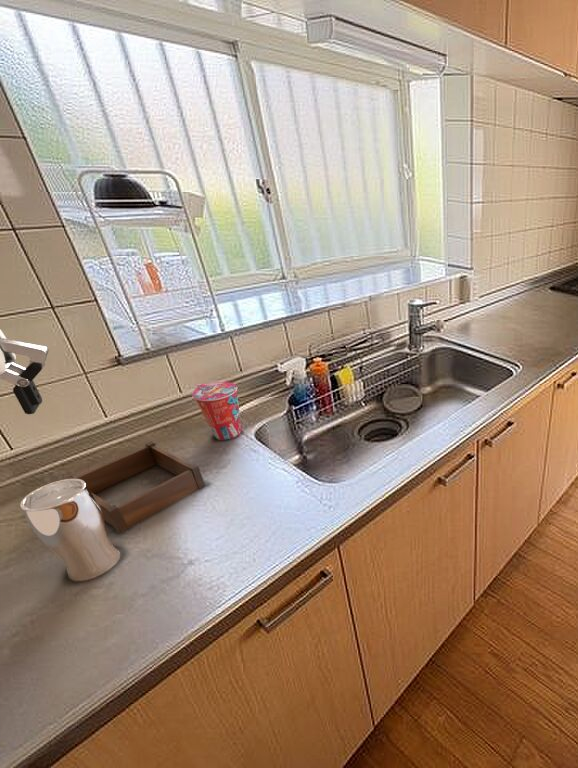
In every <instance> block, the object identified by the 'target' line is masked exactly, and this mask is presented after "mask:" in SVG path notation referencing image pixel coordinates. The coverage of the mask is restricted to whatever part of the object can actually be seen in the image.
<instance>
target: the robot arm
mask: <svg viewBox="0 0 578 768" xmlns="http://www.w3.org/2000/svg"><path fill="white" fill-rule="evenodd" d="M16 355H21V356H26V357H28V358H29V363H28V365H27V366H26V367H24V366H21V365H20V364H18V363H15V362H16V360H17V356H16ZM48 355H49V348H48V347H47V346H45V345H39V344H33V343H29V342H25V341H24V342H23V341H18V340H14V339H9V338H7V337H6V335H5V334H4V332H3V331H2V329H1V328H0V379H1V380H3V381H6V382H8V383H11V384H13V385H14V387H13V388H12V392H13V395H15V398H16V399H17V401H18V403H19V405H20V406H21V408H22V410H23V412H24V414H25V415H32V414H33V415H34V414H35V413H36V412H37V410H38V408H39V407H40V405H41V404H42V403H43V397H42V395H41V394H40V391H39V389H38V387H37V386H36V384H35V382H34V379H35V378H36V377H37V376H38V375H39V373H40V372H41V371H42V370H43V368H44V367H45V365H46V361H47V357H48Z"/></svg>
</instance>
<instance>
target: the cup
mask: <svg viewBox="0 0 578 768" xmlns="http://www.w3.org/2000/svg"><path fill="white" fill-rule="evenodd" d="M191 397H192V398H193V399H194V400H195V401H196V403H197V405H198V407H199V409H200V412H201V413H202V415H203V416H204V419H205V421H206V422H207V424H208V426H209V428H210V430H211V432H212V434H213V435H214V438H215V439H217V440H221V441H224V440H230V439H233V438H235V437H237V436H239V435H240V434H241V433H242V424H241V413H240V411H241V410H240V405H239V404H240V403H239V397H238V385H237V384H236V383H235V382H229V381H220V382H218V381H217V382H207V383H202V384H199V385H197V387H196V388H195V389H194V390H193V392H192V394H191Z"/></svg>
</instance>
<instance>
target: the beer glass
mask: <svg viewBox="0 0 578 768" xmlns="http://www.w3.org/2000/svg"><path fill="white" fill-rule="evenodd" d="M64 479H65V478H64ZM20 508H21V509H22V511H23V514H24V516H25V518H26V520H27V522H28V525H29V526H30V528H31V529H32V531H33V532H34V534H35V536H36V537H37V538H38V539H39V540H40V541H41V542H42V543H43V544H44V545H45V546H46V547H47V548H48V549H50V550H51V551H52V552H53V553H54V554H55V555H57V556H58V557H59V558H60V559H61V560H62V561H63V563H64V565H65V568H66V571H67V576H68V578H69V579H70V580H71V581H74V582H84V581H88V580H92V579H94V578H97V577H99V576H101V575H103V574H104V573H106V572H108V571H109V570H111V569H112V568H113V567H115V565H116V564H117V563H118V562H119V560H120V557H121V552H120V551H119V550H118V549H117V548H116V547H115V545H113V544H112V542H111V541H110V538H109V535H108V532H107V527H106V521H105V520H104V517H103V513H102V510H101V508H100V506H99V503H98V502H97V500H96V498H95V497H94V495H93V494H92V492H91V491H90V489H89V488H88V487H87V485H86V483H85V482H84V481H83V480H80V479H65V480H63V479H61V480H57V481H53V482H50V483H47V484H45V485H43V486H40V487H38V488H36V489H34V490H32V491H31V492H30V493H27V494H26V495H25V496H24V498H22V500H21V501H20Z"/></svg>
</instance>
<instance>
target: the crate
mask: <svg viewBox="0 0 578 768" xmlns="http://www.w3.org/2000/svg"><path fill="white" fill-rule="evenodd" d="M144 445H145V446H142V447H141V448H138V449H136V450H133V451H130V452H129V453H126V454H124V455H122V456H119V457H117V458H114V459H112V460H110V461H108V462H106V463H103V464H101V465H99V466H97V467H94V468H92V469H90V470H88V471H85V472H83V473H81V474H78V475H76V476H74V477H73V475H69V476H68V477H65V478H63V479H62V480H65V479H80V480H83V481H84V482H85V483H86V485H87V487H88V488H89V489H90V491H91V492H92V494H93V495H94V497H95V498H96V500H97V502H98V503H99V506H100V508H101V510H102V513H103V517H104V521H105V523H106V522H107V523H108V524H109V525H111V526H112V527H114V529H115V530H116V531H117V532H118V533H119V534H122V533H123V532H125V531H126V530H128V529H129V528H130V527H132V526H134V525H136V524H138V523H140V522H141V521H143V520H145V519H147V518H148V517H150V516H152V515H154V514H155V513H157V512H159V511H162V510H163V509H165V508H166V507H168V506H170V505H172V504H173V503H176V502H178V501H179V500H181V499H183V498H184V497H187V496H188V495H190V494H191V493H193V492H195V491H197V490H200V489H202V488H204V487H206V483H205V481H204V479H203V475H202V472H201V470H200V469H201V468H200V467H199V465H197V464H196V463H195V464H191V463H190V462H187V461H185V460H183V459H182V458H180V457H178V456H176V455H174V454H172V453H171V452H169V451H168V450H167V451H166V450H165V449H163V448H161V447H160V446H158V445H156V442H154V441H152V440H151V441H148V442H145V444H144ZM155 465H157V466H159V467H161V468H163V469H165V470H166V471H168V472H170V473H172V474H174V475H176V476H174V477H172V478H170V479H168V480H166V481H164V482H162V483H160V484H158V485H156V486H154V487H152V488H150V489H148V490H147V491H146V490H145V491H144V492H142V493H140V494H139V495H136V496H135V497H133V498H130V499H129V500H126V501H125V502H122V503H121V504H119V505H115V504H112V505H111V504H110V503H108V502H107V501H106V500H104V499H103V498H101V497H99V496H98V495H96V493H99V492H100V491H103V490H105V489H107V488H109V487H111V486H113V485H115V484H118V483H119V482H122V481H124V480H126V479H128V478H130V477H132V476H134V475H137V474H138V473H141V472H143V471H145V470H147V469H149V468H151V467H153V466H155Z"/></svg>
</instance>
